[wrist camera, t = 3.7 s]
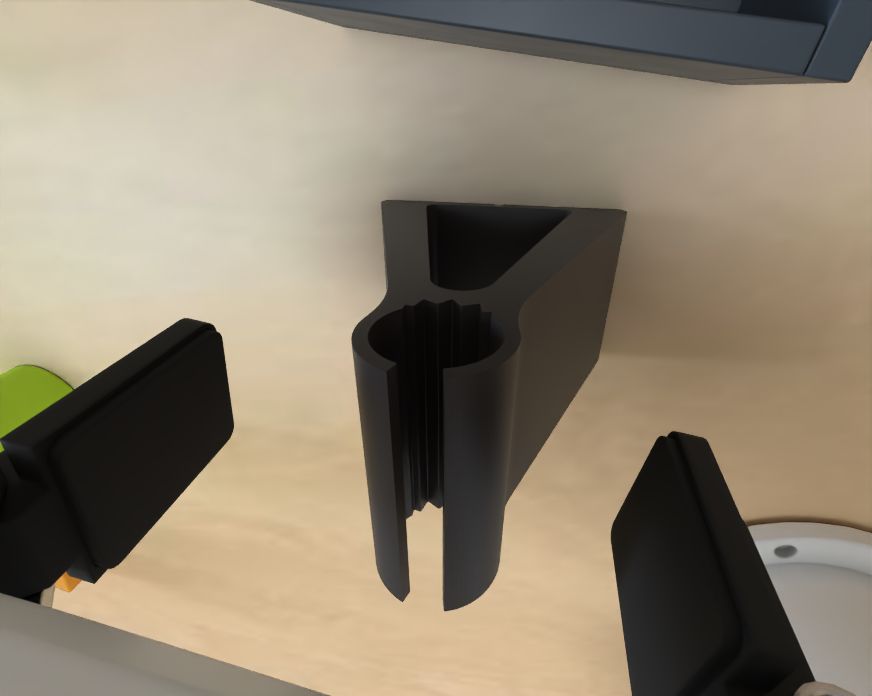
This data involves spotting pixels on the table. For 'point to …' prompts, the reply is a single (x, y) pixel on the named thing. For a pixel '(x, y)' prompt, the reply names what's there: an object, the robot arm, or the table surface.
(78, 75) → the table surface
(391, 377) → the phone stand
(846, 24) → the tote
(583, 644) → the table surface
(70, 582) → the orange tile with knob
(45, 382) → the soap dispenser
